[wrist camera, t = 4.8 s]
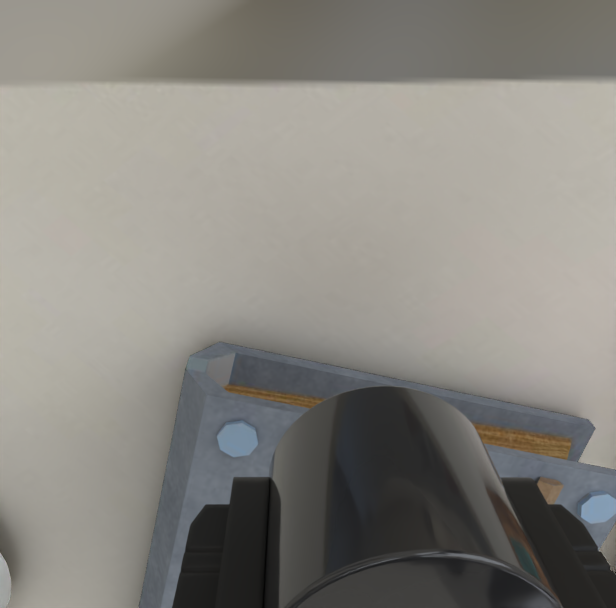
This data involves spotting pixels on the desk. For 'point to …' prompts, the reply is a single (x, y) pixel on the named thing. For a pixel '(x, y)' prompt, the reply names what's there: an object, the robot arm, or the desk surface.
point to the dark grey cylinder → (394, 511)
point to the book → (303, 396)
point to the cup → (4, 583)
